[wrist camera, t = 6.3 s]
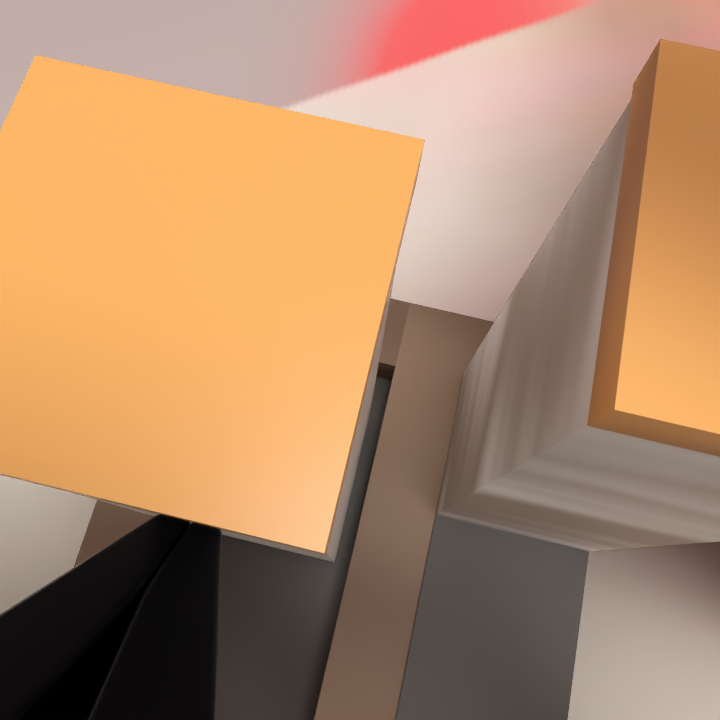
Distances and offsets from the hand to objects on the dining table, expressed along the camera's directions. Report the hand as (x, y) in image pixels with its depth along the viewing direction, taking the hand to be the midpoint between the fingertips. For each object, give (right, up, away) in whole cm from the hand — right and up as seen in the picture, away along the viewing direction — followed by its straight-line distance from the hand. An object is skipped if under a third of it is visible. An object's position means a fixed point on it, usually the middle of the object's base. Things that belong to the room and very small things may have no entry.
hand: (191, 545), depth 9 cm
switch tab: (0, 0, +8) cm, 8 cm away
